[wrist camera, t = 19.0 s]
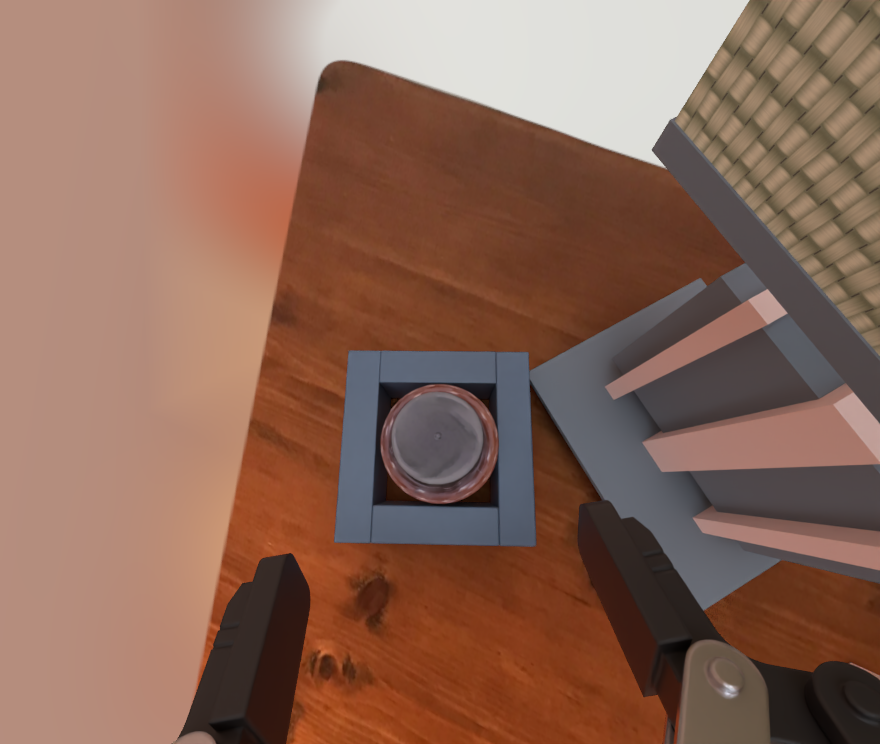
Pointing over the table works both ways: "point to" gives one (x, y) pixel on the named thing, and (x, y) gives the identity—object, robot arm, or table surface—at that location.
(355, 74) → the table surface
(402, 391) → the stand
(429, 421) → the supplement bottle
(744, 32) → the desk lamp
